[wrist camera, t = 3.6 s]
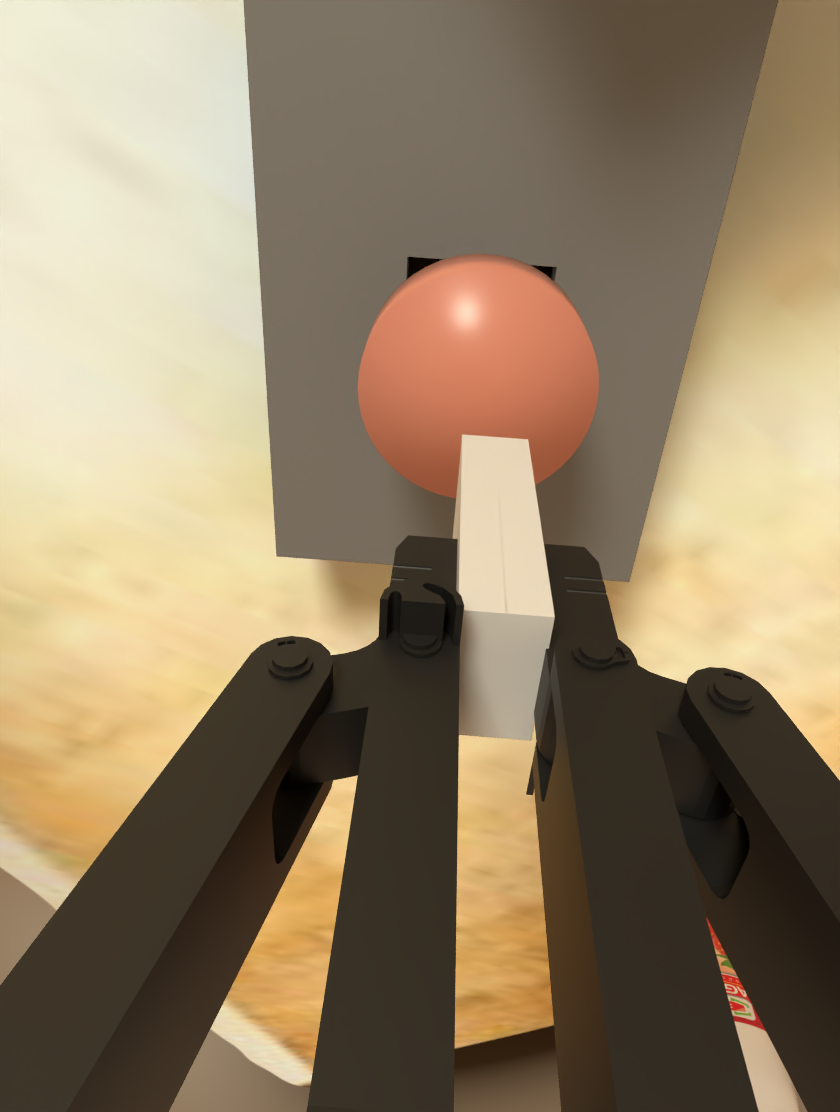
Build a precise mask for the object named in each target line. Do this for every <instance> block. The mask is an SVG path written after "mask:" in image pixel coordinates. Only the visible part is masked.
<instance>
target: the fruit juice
mask: <svg viewBox="0 0 840 1112" xmlns="http://www.w3.org/2000/svg"><path fill="white" fill-rule="evenodd" d="M706 918H707V917H706ZM707 922H708V926H709V929H710V933H711V937H712V941H713V944H714V948H715V952H716V955H717V959H718V963H719V966H720V970H721V974H722V977H723V981H724V985H725V989H726V992H727V996H728V1000H729V1003H730V1007H731V1011H732V1014H733V1018H734V1022H735V1025H736V1029H737V1033H738V1036H739V1040H740V1044H741V1048H742V1051H743V1055H744V1059H745V1062H746V1066H747V1070H748V1073H749V1077H750V1081H751V1084H752V1088H753V1092H754V1096H755V1099H756V1103H757V1107H758V1110H759V1112H799V1106H798V1101H797V1096H796V1091H795V1087H794V1084H793V1082H792V1080H791V1079H790V1077H789V1075H788V1073H787V1071H786V1069H785V1067H784V1065H783V1063H782V1061H781V1059H780V1057H779V1055H778V1054H777V1052H776V1050H775V1048H774V1046H773V1044H772V1042H771V1040H770V1038H769V1036H768V1034H767V1032H766V1031H765V1029H764V1027H763V1025H762V1023H761V1021H760V1019H759V1017H758V1015H757V1013H756V1011H755V1009H754V1007H753V1006H752V1004H751V1002H750V1000H749V998H748V996H747V994H746V992H745V990H744V988H743V986H742V984H741V982H740V981H739V979H738V977H737V975H736V973H735V971H734V969H733V967H732V965H731V963H730V961H729V959H728V957H727V956H726V954H725V952H724V950H723V948H722V946H721V944H720V942H719V940H718V938H717V936H716V934H715V932H714V931H713V929H712V927H711V925H710V923H709V921H708V919H707Z"/></svg>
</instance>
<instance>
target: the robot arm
mask: <svg viewBox="0 0 840 1112" xmlns="http://www.w3.org/2000/svg"><path fill="white" fill-rule="evenodd" d="M534 722H535V730H536V740H537V742H536V747H535V752H534V757H533V762H532V767H531V772H530V777H529V782H528V788H527V793H526V795H533V792H534V790H535V802H536V814H537V826H538V838H539V850H540V862H541V874H542V885H543V897H544V909H545V921H546V933H547V945H548V957H549V969H550V981H551V993H552V1005H553V1017H554V1028H555V1040H556V1051H557V1064H558V1076H559V1088H560V1100H561V1112H759V1110H758V1107H757V1103H756V1099H755V1096H754V1092H753V1088H752V1084H751V1081H750V1077H749V1073H748V1070H747V1066H746V1062H745V1059H744V1055H743V1051H742V1048H741V1044H740V1040H739V1036H738V1033H737V1029H736V1025H735V1022H734V1018H733V1014H732V1011H731V1007H730V1003H729V1000H728V996H727V992H726V989H725V985H724V981H723V977H722V974H721V970H720V966H719V963H718V959H717V955H716V952H715V948H714V944H713V941H712V937H711V933H710V929H709V926H708V922H707V919H708V921H709V923H710V925H711V927H712V929H713V931H714V932H715V934H716V936H717V938H718V940H719V942H720V944H721V946H722V948H723V950H724V952H725V954H726V956H727V957H728V959H729V961H730V963H731V965H732V967H733V969H734V971H735V973H736V975H737V977H738V979H739V981H740V982H741V984H742V986H743V988H744V990H745V992H746V994H747V996H748V998H749V1000H750V1002H751V1004H752V1006H753V1007H754V1009H755V1011H756V1013H757V1015H758V1017H759V1019H760V1021H761V1023H762V1025H763V1027H764V1029H765V1031H766V1032H767V1034H768V1036H769V1038H770V1040H771V1042H772V1044H773V1046H774V1048H775V1050H776V1052H777V1054H778V1055H779V1057H780V1059H781V1061H782V1063H783V1065H784V1067H785V1069H786V1071H787V1073H788V1075H789V1077H790V1079H791V1080H792V1082H793V1084H794V1086H795V1088H796V1090H797V1092H798V1094H799V1096H800V1098H801V1099H802V1102H803V1103H804V1105H805V1107H806V1109H807V1111H808V1112H840V781H839V779H838V778H837V777H836V776H835V774H834V773H833V772H832V771H831V769H830V768H829V767H828V766H827V764H826V763H825V762H824V761H823V759H822V758H821V757H820V756H819V754H818V753H817V752H816V750H815V749H814V748H813V747H812V745H811V744H810V743H809V742H808V740H807V739H806V738H805V737H804V735H803V734H802V733H801V732H800V730H799V729H798V728H797V727H796V725H795V724H794V723H793V722H792V720H791V719H790V718H789V717H788V715H787V714H786V713H785V712H784V710H783V709H782V708H781V707H780V705H779V704H778V703H777V702H776V700H775V699H774V698H773V696H772V695H771V694H770V693H769V692H768V691H767V690H766V689H765V688H764V687H763V686H762V685H761V684H760V683H759V682H757V681H756V680H754V679H752V678H750V677H748V676H746V675H745V674H743V673H740V672H737V671H733V670H730V669H726V668H712V667H709V668H705V669H701V670H698V671H696V672H695V673H693V674H692V675H691V676H690V677H689V678H688V681H687V684H685V683H682V682H679V681H675V680H672V679H669V678H665V677H662V676H659V675H657V674H654V673H651V672H649V671H647V670H645V669H644V668H642V667H640V666H638V664H637V660H636V658H635V656H634V654H633V653H632V651H631V649H630V648H629V647H627V646H626V645H625V644H624V643H623V642H621V641H620V640H619V639H618V637H617V633H616V629H615V625H614V621H613V617H612V613H611V609H610V605H609V601H608V597H607V595H606V589H605V585H604V582H603V577H602V573H601V569H600V565H599V562H598V561H597V560H596V559H595V558H594V557H593V556H592V554H591V553H590V552H589V551H588V550H587V549H586V548H585V547H579V546H565V545H552V544H544V542H543V535H542V529H541V522H540V515H539V509H538V502H537V495H536V489H535V482H534V476H533V469H532V462H531V456H530V449H529V442H528V439H516V438H503V437H489V436H476V435H462V442H461V453H460V463H459V474H458V485H457V496H456V506H455V517H454V528H453V539H451V538H438V537H425V536H412V535H408V536H407V537H406V538H405V539H404V540H403V541H402V542H401V543H400V544H399V545H398V547H397V548H396V550H395V556H394V563H393V570H392V576H391V583H390V586H389V587H388V588H387V589H385V590H384V592H383V594H382V596H381V598H380V617H379V637H378V638H377V639H376V640H375V641H374V642H372V643H371V644H370V645H368V646H366V647H364V648H362V649H359V650H357V651H353V652H349V653H344V654H338V655H330V652H329V651H328V650H327V649H326V648H325V647H324V646H323V645H322V644H321V643H319V642H316V641H314V640H311V639H309V638H305V637H295V636H289V637H282V638H276V639H273V640H271V641H269V642H266V643H264V644H262V645H260V646H259V647H258V648H257V649H256V650H255V651H254V652H252V653H251V655H250V656H249V657H248V659H247V660H246V661H245V662H244V664H243V665H242V666H241V668H240V669H239V670H238V672H237V673H236V674H235V676H234V677H233V678H232V680H231V681H230V682H229V684H228V685H227V686H226V688H225V689H224V690H223V692H222V693H221V694H220V696H219V697H218V698H217V700H216V701H215V702H214V704H213V705H212V706H211V707H210V709H209V710H208V711H207V713H206V714H205V715H204V717H203V718H202V719H201V721H200V722H199V723H198V725H197V726H196V727H195V729H194V730H193V731H192V733H191V734H190V735H189V737H188V738H187V739H186V741H185V742H184V743H183V745H182V746H181V747H180V748H179V750H178V751H177V752H176V754H175V755H174V756H173V758H172V759H171V760H170V762H169V763H168V764H167V766H166V767H165V768H164V770H163V771H162V772H161V774H160V775H159V776H158V778H157V779H156V780H155V782H154V783H153V784H152V786H151V787H150V788H149V790H148V791H147V792H146V793H145V795H144V796H143V797H142V799H141V800H140V801H139V803H138V804H137V805H136V807H135V808H134V809H133V811H132V812H131V813H130V815H129V816H128V817H127V819H126V820H125V821H124V823H123V824H122V825H121V827H120V828H119V829H118V831H117V832H116V833H115V834H114V836H113V837H112V838H111V840H110V841H109V842H108V844H107V845H106V846H105V848H104V849H103V850H102V852H101V853H100V854H99V856H98V857H97V858H96V860H95V861H94V862H93V864H92V865H91V866H90V868H89V869H88V870H87V872H86V873H85V874H84V876H83V877H82V878H81V879H80V881H79V882H78V883H77V885H76V886H75V887H74V889H73V890H72V891H71V893H70V894H69V895H68V897H67V898H66V899H65V901H64V902H63V903H62V905H61V906H60V907H59V909H58V910H57V911H56V913H55V914H54V915H53V917H52V918H51V919H50V920H49V922H48V923H47V924H46V926H45V927H44V929H43V930H42V931H41V932H40V934H39V935H38V937H37V938H36V939H35V940H34V942H33V943H32V944H31V946H30V947H29V948H28V950H27V951H26V952H25V954H24V955H23V956H22V958H21V959H20V960H19V962H18V963H17V964H16V966H15V967H14V968H13V970H12V971H11V972H10V974H9V975H8V976H7V977H6V979H5V980H4V982H3V983H2V984H1V985H0V1112H169V1110H170V1107H171V1106H172V1104H173V1102H174V1099H175V1098H176V1096H177V1094H178V1092H179V1090H180V1088H181V1086H182V1084H183V1082H184V1080H185V1078H186V1076H187V1074H188V1072H189V1070H190V1068H191V1066H192V1064H193V1062H194V1060H195V1058H196V1056H197V1054H198V1052H199V1050H200V1048H201V1046H202V1044H203V1042H204V1040H205V1038H206V1036H207V1034H208V1032H209V1030H210V1028H211V1026H212V1024H213V1022H214V1020H215V1018H216V1016H217V1014H218V1012H219V1010H220V1008H221V1006H222V1004H223V1002H224V1000H225V998H226V996H227V994H228V992H229V990H230V988H231V986H232V984H233V982H234V980H235V978H236V976H237V974H238V972H239V970H240V968H241V966H242V964H243V962H244V960H245V958H246V957H247V955H248V953H249V951H250V949H251V947H252V945H253V943H254V941H255V939H256V937H257V935H258V933H259V931H260V929H261V927H262V925H263V923H264V921H265V919H266V917H267V915H268V913H269V911H270V909H271V907H272V905H273V903H274V901H275V899H276V897H277V895H278V893H279V891H280V889H281V887H282V885H283V883H284V881H285V879H286V877H287V875H288V873H289V871H290V869H291V867H292V865H293V863H294V861H295V859H296V857H297V855H298V853H299V851H300V849H301V847H302V845H303V843H304V841H305V839H306V837H307V835H308V833H309V831H310V829H311V827H312V825H313V823H314V821H315V819H316V817H317V815H318V813H319V811H320V809H321V807H322V805H323V803H324V801H325V799H326V797H327V795H328V793H329V791H330V789H331V787H332V782H333V780H337V779H342V778H347V777H352V776H357V775H358V779H357V786H356V792H355V799H354V805H353V812H352V818H351V825H350V831H349V838H348V845H347V851H346V858H345V864H344V871H343V877H342V884H341V890H340V897H339V904H338V910H337V917H336V923H335V930H334V936H333V943H332V949H331V956H330V962H329V969H328V976H327V982H326V989H325V995H324V1002H323V1008H322V1015H321V1021H320V1028H319V1035H318V1041H317V1048H316V1054H315V1061H314V1067H313V1074H312V1080H311V1087H310V1094H309V1100H308V1107H307V1112H454V1111H453V1110H454V1041H455V967H456V893H457V819H458V746H459V735H469V736H481V737H494V738H506V739H519V740H531V738H532V733H533V727H534ZM706 917H707V918H706Z"/></svg>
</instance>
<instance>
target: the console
mask: <svg viewBox="0 0 840 1112" xmlns="http://www.w3.org/2000/svg"><path fill="white" fill-rule="evenodd" d="M777 2H778V0H244V15H245V32H246V49H247V66H248V82H249V99H250V116H251V133H252V150H253V167H254V183H255V200H256V217H257V234H258V251H259V268H260V284H261V301H262V318H263V335H264V352H265V368H266V385H267V402H268V419H269V436H270V453H271V469H272V486H273V503H274V520H275V537H276V554H277V556H279V557H293V558H307V559H320V560H334V561H348V562H362V563H375V564H389V565H393V563H394V556H395V550H396V548H397V547H398V545H399V544H400V543H401V542H402V541H403V540H404V539H405V538H406V537H407V536H408V535H412V536H425V537H438V538H451V539H453V528H454V517H455V506H456V498H451V497H447V496H443V495H439V494H436V493H434V492H431V491H428V490H426V489H424V488H422V487H420V486H418V485H416V484H414V483H412V482H411V481H409V480H408V479H406V478H405V477H403V476H402V475H400V474H399V473H398V472H397V471H396V470H395V469H394V468H393V467H391V466H390V465H389V464H388V462H387V461H386V460H385V459H384V458H383V457H382V456H381V454H380V453H379V451H378V450H377V449H376V447H375V446H374V444H373V443H372V441H371V439H370V437H369V435H368V433H367V431H366V428H365V425H364V422H363V419H362V416H361V412H360V407H359V401H358V376H359V369H360V364H361V360H362V356H363V353H364V350H365V346H366V343H367V340H368V337H369V334H370V332H371V329H372V326H373V324H374V321H375V319H376V317H377V315H378V313H379V312H380V310H381V308H382V306H383V305H384V304H385V302H386V301H387V299H388V298H389V297H390V295H391V294H392V293H393V292H394V291H395V290H396V289H397V288H398V287H399V286H400V285H401V284H402V283H403V282H404V281H406V280H407V279H408V264H409V257H420V258H435V259H447V258H451V257H454V256H460V255H467V254H493V255H500V256H505V257H509V258H512V259H516V260H519V261H522V262H524V263H526V264H528V265H536V266H550V267H553V270H552V277H551V279H552V280H553V281H554V282H555V283H556V284H558V285H559V286H560V288H561V289H562V290H563V291H564V292H565V293H566V294H567V295H568V297H569V298H570V300H571V301H572V303H573V304H574V306H575V307H576V309H577V311H578V313H579V315H580V318H581V320H582V322H583V324H584V326H585V329H586V331H587V333H588V336H589V338H590V340H591V343H592V345H593V349H594V352H595V355H596V359H597V365H598V372H599V392H598V400H597V406H596V410H595V413H594V417H593V420H592V422H591V425H590V427H589V429H588V432H587V434H586V435H585V437H584V439H583V441H582V442H581V444H580V446H579V447H578V448H577V449H576V451H575V452H574V453H573V455H572V456H571V457H570V458H569V459H568V460H567V461H566V462H565V463H564V464H563V465H562V466H561V467H560V468H559V469H558V470H557V471H555V472H554V473H553V474H552V475H550V476H549V477H548V478H546V479H544V480H543V481H541V482H540V483H538V484H536V485H535V489H536V495H537V502H538V509H539V515H540V522H541V529H542V535H543V542H544V544H552V545H565V546H579V547H585V548H586V549H587V550H588V551H589V552H590V553H591V554H592V556H593V557H594V558H595V559H596V560H597V561H598V562H599V565H600V569H601V573H602V577H603V580H609V581H623V582H629V580H630V577H631V573H632V569H633V565H634V561H635V557H636V553H637V549H638V545H639V541H640V537H641V534H642V530H643V526H644V522H645V518H646V514H647V510H648V506H649V502H650V498H651V495H652V491H653V487H654V483H655V479H656V475H657V471H658V467H659V463H660V459H661V455H662V452H663V448H664V444H665V440H666V436H667V432H668V428H669V424H670V420H671V416H672V413H673V409H674V405H675V401H676V397H677V393H678V389H679V385H680V381H681V377H682V373H683V370H684V366H685V362H686V358H687V354H688V350H689V346H690V342H691V338H692V334H693V330H694V327H695V323H696V319H697V315H698V311H699V307H700V303H701V299H702V295H703V291H704V288H705V284H706V280H707V276H708V272H709V268H710V264H711V260H712V256H713V252H714V248H715V245H716V241H717V237H718V233H719V229H720V225H721V221H722V217H723V213H724V209H725V205H726V202H727V198H728V194H729V190H730V186H731V182H732V178H733V174H734V170H735V166H736V163H737V159H738V155H739V151H740V147H741V143H742V139H743V135H744V131H745V127H746V123H747V120H748V116H749V112H750V108H751V104H752V100H753V96H754V92H755V88H756V84H757V81H758V77H759V73H760V69H761V65H762V61H763V57H764V53H765V49H766V45H767V41H768V38H769V34H770V30H771V26H772V22H773V18H774V14H775V10H776V6H777Z"/></svg>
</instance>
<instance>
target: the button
mask: <svg viewBox="0 0 840 1112" xmlns="http://www.w3.org/2000/svg"><path fill="white" fill-rule="evenodd" d="M598 392H599V372H598V365H597V359H596V355H595V352H594V349H593V345H592V343H591V340H590V338H589V336H588V333H587V331H586V329H585V326H584V324H583V322H582V320H581V318H580V315H579V313H578V311H577V309H576V307H575V306H574V304H573V303H572V301H571V300H570V298H569V297H568V295H567V294H566V293H565V292H564V291H563V290H562V289H561V288H560V286H559V285H558V284H556V283H555V282H554V281H553V280H552V279H551V278H549V277H548V276H547V275H546V274H544V273H542V272H541V271H539V270H538V269H536V268H534V267H533V266H531V265H528V264H526V263H524V262H522V261H519V260H516V259H512V258H509V257H505V256H500V255H493V254H467V255H460V256H454V257H451V258H447V259H444V260H440V261H438V262H436V263H433V264H431V265H429V266H427V267H425V268H423V269H422V270H420V271H418V272H417V273H415V274H413V275H412V276H411V277H409V278H408V279H407V280H406V281H404V282H403V283H402V284H401V285H400V286H399V287H398V288H397V289H396V290H395V291H394V292H393V293H392V294H391V295H390V297H389V298H388V299H387V301H386V302H385V304H384V305H383V306H382V308H381V310H380V312H379V313H378V315H377V317H376V319H375V321H374V324H373V326H372V329H371V332H370V334H369V337H368V340H367V343H366V346H365V350H364V353H363V356H362V360H361V364H360V369H359V376H358V401H359V407H360V412H361V416H362V419H363V422H364V425H365V428H366V431H367V433H368V435H369V437H370V439H371V441H372V443H373V444H374V446H375V447H376V449H377V450H378V451H379V453H380V454H381V456H382V457H383V458H384V459H385V460H386V461H387V462H388V464H389V465H390V466H391V467H393V468H394V469H395V470H396V471H397V472H398V473H399V474H400V475H402V476H403V477H405V478H406V479H408V480H409V481H411V482H412V483H414V484H416V485H418V486H420V487H422V488H424V489H426V490H428V491H431V492H434V493H436V494H439V495H443V496H447V497H451V498H456V496H457V485H458V474H459V463H460V453H461V442H462V435H476V436H489V437H503V438H516V439H528V442H529V449H530V456H531V462H532V469H533V476H534V482H535V485H536V484H538V483H540V482H541V481H543V480H544V479H546V478H548V477H549V476H550V475H552V474H553V473H554V472H555V471H557V470H558V469H559V468H560V467H561V466H562V465H563V464H564V463H565V462H566V461H567V460H568V459H569V458H570V457H571V456H572V455H573V453H574V452H575V451H576V449H577V448H578V447H579V446H580V444H581V442H582V441H583V439H584V437H585V435H586V434H587V432H588V429H589V427H590V425H591V422H592V420H593V417H594V413H595V410H596V406H597V400H598Z"/></svg>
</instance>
